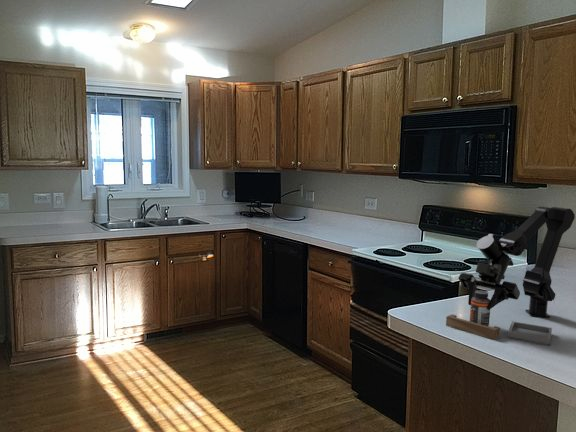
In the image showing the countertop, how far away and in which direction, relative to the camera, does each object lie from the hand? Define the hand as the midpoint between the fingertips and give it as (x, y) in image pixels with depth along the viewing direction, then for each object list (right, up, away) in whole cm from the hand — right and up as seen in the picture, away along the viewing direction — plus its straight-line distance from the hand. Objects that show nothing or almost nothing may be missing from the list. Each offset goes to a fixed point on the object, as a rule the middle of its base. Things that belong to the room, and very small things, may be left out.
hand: (478, 306), depth 161 cm
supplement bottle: (+1, -7, +2) cm, 7 cm away
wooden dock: (-3, -7, -1) cm, 8 cm away
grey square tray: (+15, -8, -4) cm, 17 cm away
